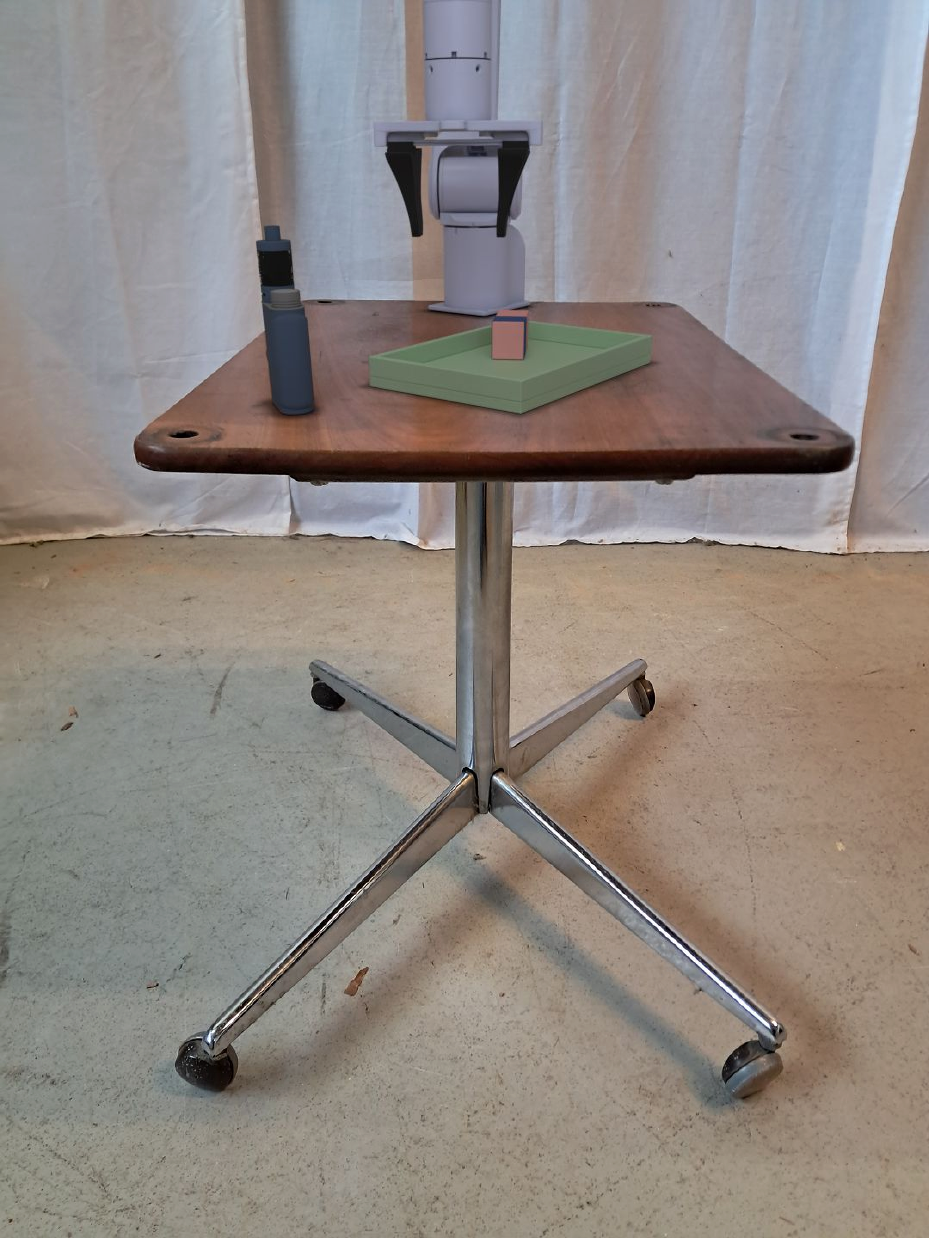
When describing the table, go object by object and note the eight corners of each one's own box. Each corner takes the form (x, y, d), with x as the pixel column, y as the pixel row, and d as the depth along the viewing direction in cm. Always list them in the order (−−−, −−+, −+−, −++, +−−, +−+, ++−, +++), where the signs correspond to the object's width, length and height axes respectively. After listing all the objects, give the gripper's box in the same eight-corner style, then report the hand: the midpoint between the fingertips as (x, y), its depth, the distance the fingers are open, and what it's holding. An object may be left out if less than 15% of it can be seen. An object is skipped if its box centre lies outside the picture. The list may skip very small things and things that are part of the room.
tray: (513, 344, 86) (513, 318, 85) (650, 362, 78) (652, 335, 77) (369, 386, 72) (368, 356, 71) (520, 414, 64) (521, 381, 63)
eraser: (498, 345, 82) (498, 309, 80) (528, 346, 81) (529, 309, 80) (491, 359, 76) (491, 321, 75) (523, 360, 76) (524, 321, 75)
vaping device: (302, 396, 69) (287, 224, 63) (318, 413, 65) (303, 230, 59) (268, 400, 68) (249, 225, 63) (282, 417, 64) (263, 231, 58)
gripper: (362, 59, 74) (371, 240, 80) (541, 56, 72) (536, 241, 79) (380, 65, 80) (387, 232, 86) (546, 62, 78) (541, 233, 85)
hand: (459, 236), depth 83 cm, fingers open, 7 cm apart
